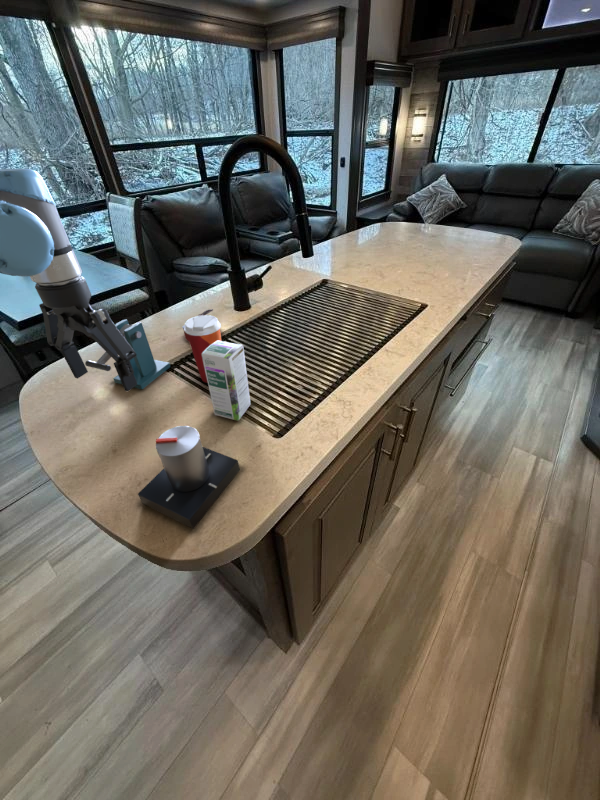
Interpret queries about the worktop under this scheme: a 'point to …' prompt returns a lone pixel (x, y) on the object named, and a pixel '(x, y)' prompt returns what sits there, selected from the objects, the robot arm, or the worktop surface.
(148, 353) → the teal lever stand
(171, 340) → the worktop surface
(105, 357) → the lever
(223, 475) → the control panel
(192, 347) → the paper cup
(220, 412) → the syrup box
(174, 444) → the dial
